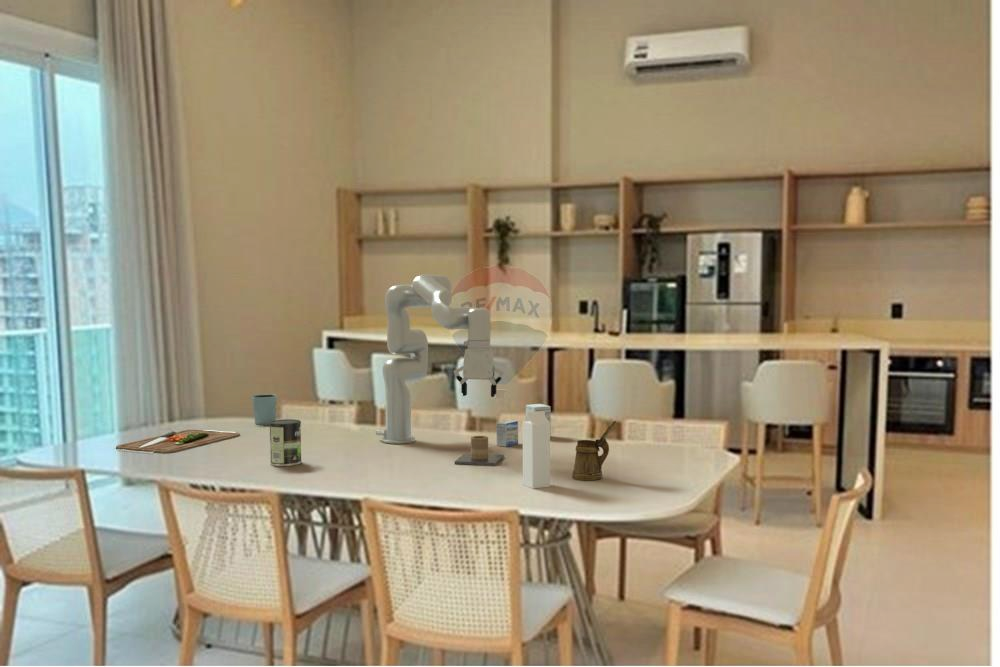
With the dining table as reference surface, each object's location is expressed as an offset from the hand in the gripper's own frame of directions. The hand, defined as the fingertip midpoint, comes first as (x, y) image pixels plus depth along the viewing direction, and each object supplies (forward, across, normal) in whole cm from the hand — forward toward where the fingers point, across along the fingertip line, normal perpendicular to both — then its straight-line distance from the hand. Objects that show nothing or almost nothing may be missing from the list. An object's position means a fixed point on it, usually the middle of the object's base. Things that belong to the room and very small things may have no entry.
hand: (478, 395), depth 287 cm
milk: (+22, +24, -32) cm, 46 cm away
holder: (+22, 0, 0) cm, 22 cm away
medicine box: (+22, +4, +30) cm, 37 cm away
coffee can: (+23, -62, -15) cm, 68 cm away
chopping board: (+24, -120, +15) cm, 123 cm away
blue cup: (+24, -108, +61) cm, 126 cm away
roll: (+21, 0, 0) cm, 21 cm away
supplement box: (+22, +14, +47) cm, 53 cm away
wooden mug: (+22, +40, -19) cm, 50 cm away
